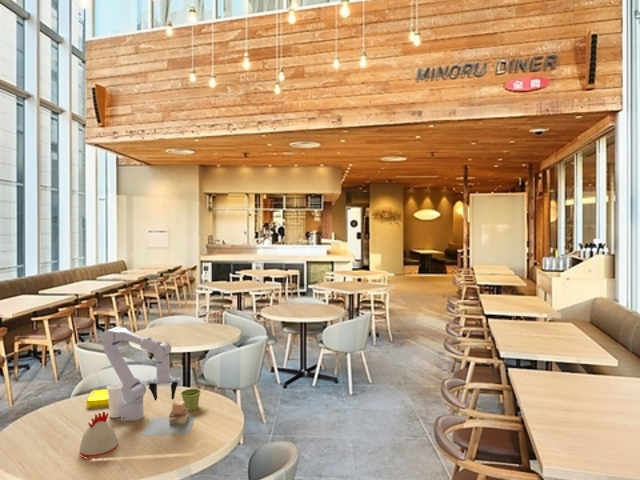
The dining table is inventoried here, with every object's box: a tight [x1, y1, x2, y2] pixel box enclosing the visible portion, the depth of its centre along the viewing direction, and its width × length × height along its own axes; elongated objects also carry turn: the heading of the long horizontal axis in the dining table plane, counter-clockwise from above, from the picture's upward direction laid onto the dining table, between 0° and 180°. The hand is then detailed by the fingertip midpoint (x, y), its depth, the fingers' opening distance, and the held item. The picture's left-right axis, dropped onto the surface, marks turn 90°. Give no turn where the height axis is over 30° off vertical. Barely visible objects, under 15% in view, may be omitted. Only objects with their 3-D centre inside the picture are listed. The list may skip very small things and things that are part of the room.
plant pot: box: [180, 388, 202, 411], centre depth 226 cm, size 9×9×9 cm
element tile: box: [86, 388, 109, 409], centre depth 237 cm, size 15×15×5 cm
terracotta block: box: [171, 400, 185, 415], centre depth 211 cm, size 4×4×5 cm
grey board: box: [140, 415, 197, 437], centre depth 206 cm, size 20×18×1 cm
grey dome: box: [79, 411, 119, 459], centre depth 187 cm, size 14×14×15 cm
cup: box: [106, 382, 125, 419], centre depth 220 cm, size 8×8×14 cm
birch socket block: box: [168, 408, 189, 424], centre depth 212 cm, size 7×7×4 cm
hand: (164, 399), depth 213 cm, fingers open, 7 cm apart
